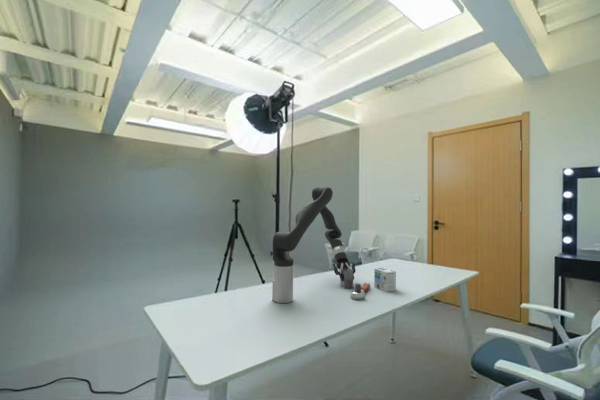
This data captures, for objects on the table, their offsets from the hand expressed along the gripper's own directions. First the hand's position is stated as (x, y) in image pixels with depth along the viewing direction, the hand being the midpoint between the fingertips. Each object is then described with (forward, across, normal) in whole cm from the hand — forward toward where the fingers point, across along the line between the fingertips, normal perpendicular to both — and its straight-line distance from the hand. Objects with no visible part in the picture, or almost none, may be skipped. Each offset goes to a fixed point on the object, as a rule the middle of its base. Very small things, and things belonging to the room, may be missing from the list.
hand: (348, 280), depth 161 cm
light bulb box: (+8, +20, -1) cm, 21 cm away
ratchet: (+11, +3, -5) cm, 13 cm away
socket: (+2, 0, +4) cm, 5 cm away
